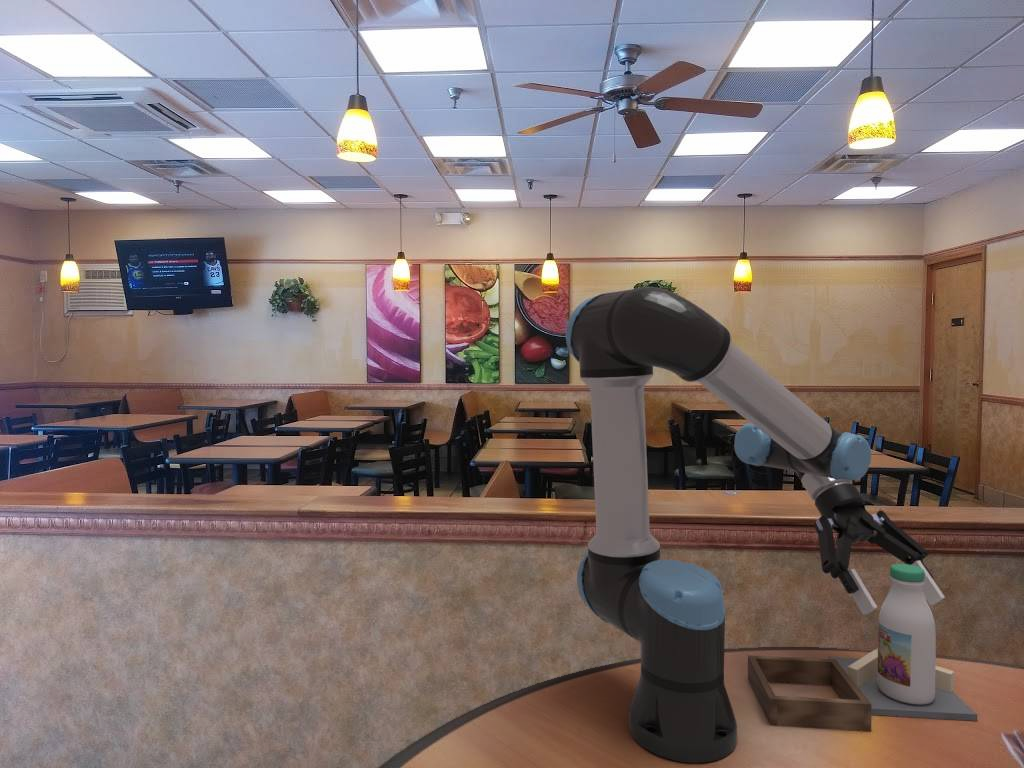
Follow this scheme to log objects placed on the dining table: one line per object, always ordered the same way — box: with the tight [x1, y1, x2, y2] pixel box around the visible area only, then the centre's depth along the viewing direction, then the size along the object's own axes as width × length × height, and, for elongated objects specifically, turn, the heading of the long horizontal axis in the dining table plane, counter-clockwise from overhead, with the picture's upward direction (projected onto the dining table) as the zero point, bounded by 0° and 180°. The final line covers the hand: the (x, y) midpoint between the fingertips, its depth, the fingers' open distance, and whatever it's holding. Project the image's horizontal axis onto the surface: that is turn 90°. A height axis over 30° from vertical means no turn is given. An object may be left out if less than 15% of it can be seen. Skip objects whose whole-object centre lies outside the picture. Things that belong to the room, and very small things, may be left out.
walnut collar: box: [747, 655, 872, 732], centre depth 100 cm, size 14×14×4 cm
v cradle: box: [828, 647, 978, 722], centre depth 104 cm, size 16×17×4 cm
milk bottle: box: [877, 563, 937, 705], centre depth 101 cm, size 8×8×20 cm
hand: (904, 606), depth 102 cm, fingers open, 13 cm apart
